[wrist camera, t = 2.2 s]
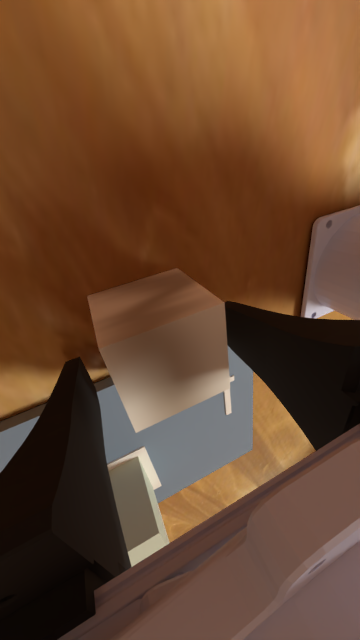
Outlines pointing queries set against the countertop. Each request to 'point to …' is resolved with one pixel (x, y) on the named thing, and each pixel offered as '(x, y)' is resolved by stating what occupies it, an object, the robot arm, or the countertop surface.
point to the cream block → (162, 344)
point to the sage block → (137, 511)
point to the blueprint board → (164, 433)
